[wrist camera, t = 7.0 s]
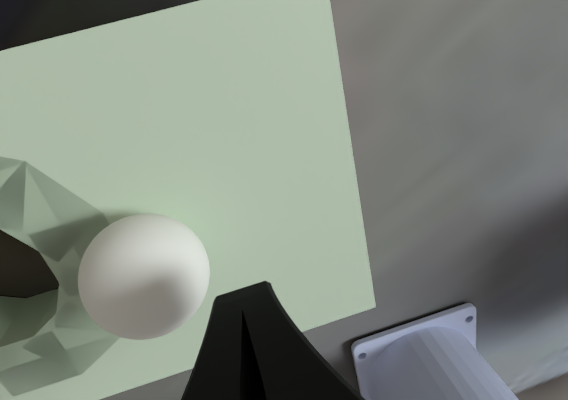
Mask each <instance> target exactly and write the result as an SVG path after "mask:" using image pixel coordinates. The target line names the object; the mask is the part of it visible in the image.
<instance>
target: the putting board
mask: <svg viewBox="0 0 568 400" xmlns="http://www.w3.org/2000/svg"><path fill="white" fill-rule="evenodd" d="M147 213H150V214H161V215H164V216H168V217H171V218H173V219H176V220H178V221H180V222H181V223H183V224H185V225H186V226H187V227H188V228H190V229H191V230H192V231H193V232H194V233H195V234H196V235H197V237H198V238H199V239H200V241H201V243H202V244H203V246H204V248H205V251H206V253H207V256H208V260H209V267H210V278H209V285H208V289H207V292H206V295H205V297H204V300H203V302H202V304H201V305H200V307H199V308H198V310H197V311H196V313H195V314H194V315H193V316H192V317H191V318H190V319H189V320H188V321H187V322H186V323H185V324H183V325H182V326H181V327H179V328H178V329H176V330H174V331H173V332H171V333H168V334H166V335H164V336H161V337H157V338H153V339H145V340H132V339H127V338H122V337H119V336H116V335H113V334H111V333H109V332H108V331H106V330H104V329H103V328H101V327H100V326H99V325H98V324H97V323H95V322H94V321H93V319H92V318H91V317H90V316H89V314H88V313H87V311H86V310H85V308H84V306H83V303H82V301H81V298H80V295H79V289H78V272H79V267H80V263H81V260H82V258H83V255H84V253H85V251H86V249H87V247H88V246H89V244H90V243H91V242H92V240H93V239H94V238H95V237H96V236H97V235H98V234H99V233H100V232H101V231H102V230H103V229H105V228H106V227H107V226H109V225H110V224H112V223H114V222H116V221H118V220H120V219H122V218H125V217H128V216H131V215H137V214H147ZM0 230H2V231H4V232H6V233H7V234H9V235H11V236H13V237H14V238H16V239H18V240H20V241H21V242H23V243H25V244H27V245H28V246H30V247H32V248H34V249H35V250H37V251H39V252H40V254H41V255H42V257H43V258H44V260H45V261H46V263H47V265H48V266H49V268H50V269H51V271H52V272H53V274H54V275H55V277H56V278H57V280H58V282H59V288H58V289H55V290H51V291H48V292H45V293H42V294H38V295H35V296H32V297H28V298H17V297H5V296H0V400H99V399H102V398H105V397H108V396H111V395H114V394H117V393H120V392H123V391H126V390H129V389H132V388H135V387H138V386H141V385H144V384H147V383H150V382H153V381H156V380H159V379H162V378H165V377H168V376H171V375H174V374H177V373H180V372H183V371H186V370H189V369H192V368H194V365H195V362H196V359H197V356H198V353H199V350H200V347H201V344H202V341H203V338H204V335H205V331H206V328H207V325H208V321H209V317H210V314H211V310H212V305H213V301H214V299H215V298H216V296H219V295H222V294H225V293H228V292H231V291H234V290H237V289H241V288H244V287H247V286H250V285H253V284H256V283H259V282H263V281H267V282H270V283H271V285H272V288H273V290H274V292H275V294H276V296H277V298H278V300H279V301H280V303H281V305H282V306H283V308H284V309H285V311H286V312H287V314H288V315H289V317H290V318H291V319H292V321H293V322H294V323H295V325H296V326H297V327H298V328H299V330H300V331H301V332H303V331H306V330H309V329H312V328H315V327H318V326H321V325H324V324H327V323H330V322H333V321H336V320H339V319H342V318H345V317H348V316H351V315H354V314H357V313H360V312H363V311H366V310H369V309H372V308H375V307H376V305H375V298H374V292H373V285H372V278H371V272H370V265H369V258H368V252H367V245H366V238H365V232H364V225H363V218H362V212H361V205H360V198H359V191H358V185H357V178H356V171H355V165H354V158H353V151H352V145H351V138H350V131H349V125H348V118H347V111H346V105H345V98H344V91H343V85H342V78H341V71H340V65H339V58H338V51H337V45H336V38H335V31H334V25H333V18H332V11H331V5H330V0H200V1H196V2H192V3H188V4H184V5H180V6H176V7H172V8H168V9H165V10H161V11H157V12H153V13H149V14H145V15H141V16H137V17H133V18H129V19H125V20H121V21H117V22H113V23H109V24H105V25H101V26H97V27H93V28H89V29H85V30H82V31H78V32H74V33H70V34H66V35H62V36H58V37H54V38H50V39H46V40H42V41H38V42H34V43H30V44H26V45H22V46H18V47H14V48H10V49H6V50H3V51H0Z"/></svg>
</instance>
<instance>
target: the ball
mask: <svg viewBox="0 0 568 400" xmlns="http://www.w3.org/2000/svg"><path fill="white" fill-rule="evenodd" d="M209 278H210V267H209V260H208V256H207V253H206V251H205V248H204V246H203V244H202V243H201V241H200V239H199V238H198V237H197V235H196V234H195V233H194V232H193V231H192V230H191V229H190V228H188V227H187V226H186V225H185V224H183V223H181V222H180V221H178V220H176V219H173V218H171V217H168V216H164V215H161V214H150V213H147V214H137V215H131V216H128V217H125V218H122V219H120V220H118V221H116V222H114V223H112V224H110V225H109V226H107V227H106V228H105V229H103V230H102V231H101V232H100V233H99V234H98V235H97V236H96V237H95V238H94V239H93V240H92V242H91V243H90V244H89V246H88V247H87V249H86V251H85V253H84V255H83V258H82V260H81V263H80V267H79V272H78V289H79V295H80V298H81V301H82V303H83V306H84V308H85V310H86V311H87V313H88V314H89V316H90V317H91V318H92V319H93V321H94V322H95V323H97V324H98V325H99V326H100V327H101V328H103V329H104V330H106V331H108V332H109V333H111V334H113V335H116V336H119V337H122V338H127V339H132V340H145V339H153V338H157V337H161V336H164V335H166V334H168V333H171V332H173V331H174V330H176V329H178V328H179V327H181V326H182V325H183V324H185V323H186V322H187V321H188V320H189V319H190V318H191V317H192V316H193V315H194V314H195V313H196V311H197V310H198V308H199V307H200V305H201V304H202V302H203V300H204V297H205V295H206V292H207V289H208V285H209Z"/></svg>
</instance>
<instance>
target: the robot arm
mask: <svg viewBox="0 0 568 400" xmlns="http://www.w3.org/2000/svg"><path fill="white" fill-rule="evenodd" d="M351 350H352V355H353V360H354V365H355V370H356V375H357V380H358V384H359V389H360V394H361V395H360V394H359V393H358V392H357V391H356V390H355V389H354V388H352V387H351V386H350V385H349V384H348V383H347V382H346V381H345V380H344V379H343V378H342V377H341V376H340V375H339V374H338V373H337V372H336V371H335V370H334V369H333V368H332V367H331V365H330V364H329V363H328V362H327V361H326V360H325V359H324V358H323V357H322V356H321V355H320V354H319V352H318V351H317V350H316V349H315V348H314V347H313V346H312V344H311V343H310V342H309V341H308V340H307V338H306V337H305V336H304V335H303V333H302V332H301V331H300V330H299V328H298V327H297V326H296V325H295V323H294V322H293V321H292V319H291V318H290V317H289V315H288V314H287V312H286V311H285V309H284V308H283V306H282V305H281V303H280V301H279V300H278V298H277V296H276V294H275V292H274V290H273V288H272V285H271V283H270V282H267V281H263V282H259V283H256V284H253V285H250V286H247V287H244V288H241V289H237V290H234V291H231V292H228V293H225V294H222V295H219V296H216V298H215V299H214V301H213V305H212V310H211V314H210V317H209V321H208V325H207V328H206V331H205V335H204V338H203V341H202V344H201V347H200V350H199V353H198V356H197V359H196V362H195V365H194V368H193V371H192V373H191V376H190V379H189V381H188V384H187V386H186V389H185V391H184V394H183V396H182V399H181V400H518V399H517V397H516V396H515V395H514V394H513V393H512V391H511V390H510V389H509V388H508V387H507V385H506V384H505V383H504V382H503V381H502V380H501V378H500V377H499V376H498V375H497V374H496V372H495V371H494V370H493V369H492V368H491V366H490V365H489V364H488V363H487V362H486V361H485V359H484V358H483V357H482V356H481V355H480V353H479V352H478V351H477V350H476V308H475V307H474V306H473V305H472V304H471V303H466V304H463V305H460V306H457V307H454V308H451V309H448V310H445V311H442V312H439V313H436V314H433V315H430V316H427V317H424V318H421V319H418V320H415V321H413V322H410V323H407V324H404V325H401V326H398V327H395V328H392V329H389V330H386V331H383V332H380V333H377V334H374V335H371V336H368V337H365V338H363V339H360V340H357V341H355V342H354V343H353V344H352V346H351Z"/></svg>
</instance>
